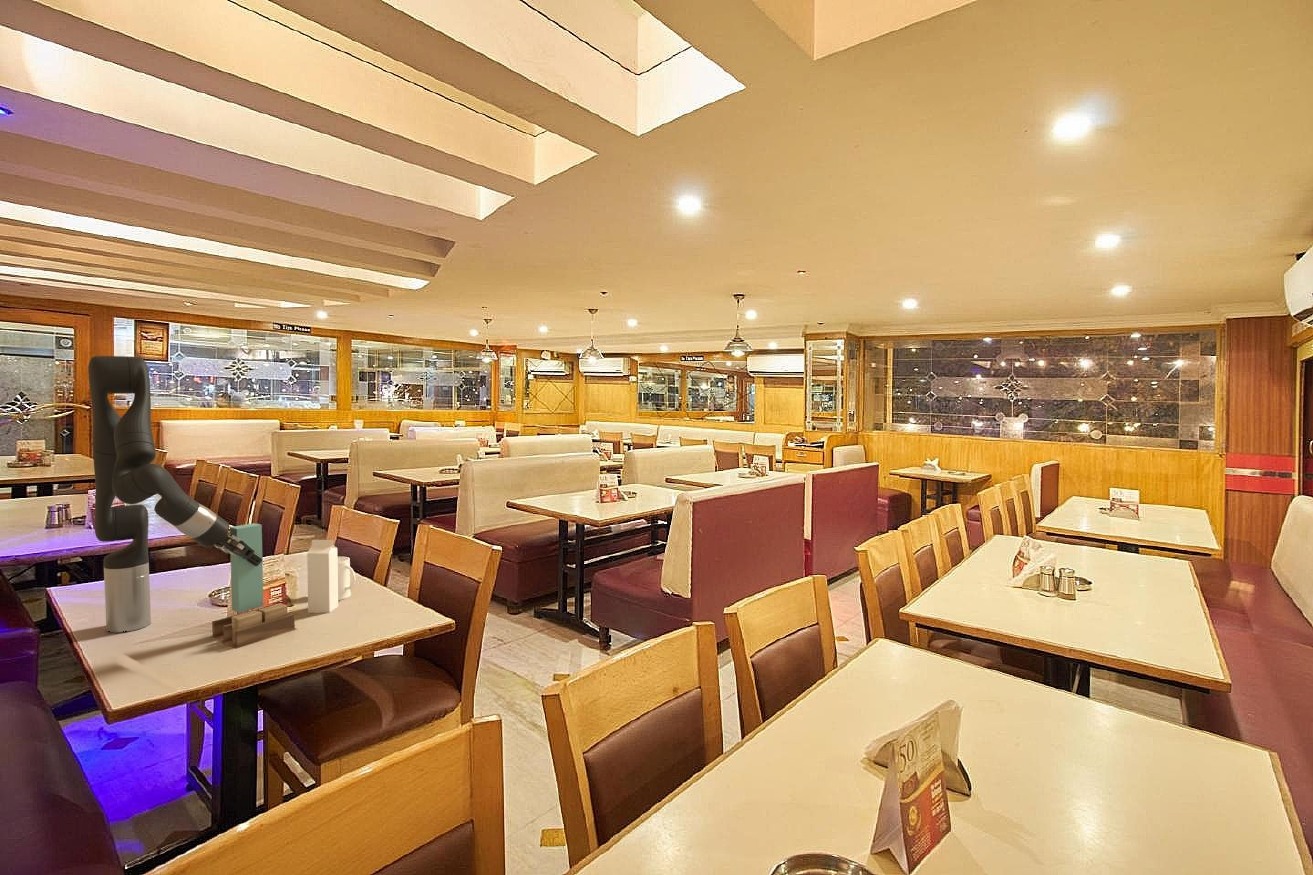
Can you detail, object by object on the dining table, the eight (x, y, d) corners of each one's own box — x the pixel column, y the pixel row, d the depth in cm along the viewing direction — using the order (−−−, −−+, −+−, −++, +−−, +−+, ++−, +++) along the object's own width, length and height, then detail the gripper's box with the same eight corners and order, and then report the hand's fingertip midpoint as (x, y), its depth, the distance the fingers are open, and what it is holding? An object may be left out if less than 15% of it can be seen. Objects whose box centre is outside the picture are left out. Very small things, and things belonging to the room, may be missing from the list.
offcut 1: (232, 641, 155) (231, 616, 154) (256, 634, 160) (255, 610, 159) (238, 644, 153) (238, 619, 153) (262, 637, 158) (261, 612, 158)
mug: (364, 596, 195) (364, 559, 194) (341, 604, 187) (341, 566, 186) (337, 590, 200) (337, 554, 199) (314, 598, 192) (313, 561, 191)
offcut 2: (259, 633, 160) (258, 609, 160) (281, 626, 165) (280, 603, 165) (265, 636, 159) (265, 611, 158) (287, 629, 164) (287, 605, 163)
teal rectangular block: (231, 609, 160) (229, 527, 158) (256, 603, 165) (254, 523, 164) (238, 612, 158) (236, 528, 157) (263, 605, 164) (261, 524, 162)
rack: (210, 642, 158) (209, 621, 157) (270, 624, 171) (270, 604, 170) (236, 654, 151) (235, 632, 151) (297, 634, 164) (297, 614, 164)
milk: (317, 610, 182) (316, 537, 181) (338, 610, 183) (337, 537, 181) (307, 617, 176) (306, 542, 175) (329, 617, 177) (328, 542, 175)
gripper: (227, 515, 150) (280, 554, 161) (199, 509, 157) (251, 546, 168) (203, 541, 146) (259, 578, 157) (175, 533, 153) (230, 569, 164)
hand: (254, 561), depth 163 cm, fingers closed on teal rectangular block, 3 cm apart
